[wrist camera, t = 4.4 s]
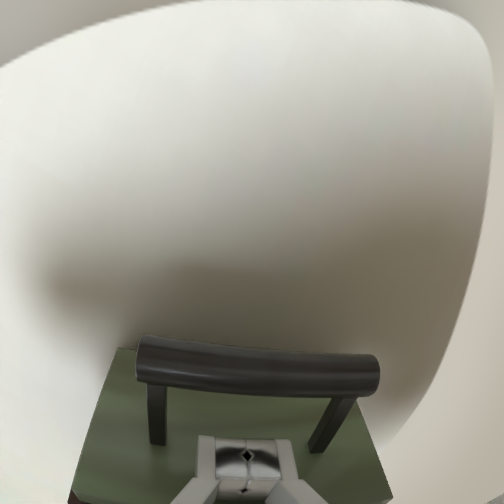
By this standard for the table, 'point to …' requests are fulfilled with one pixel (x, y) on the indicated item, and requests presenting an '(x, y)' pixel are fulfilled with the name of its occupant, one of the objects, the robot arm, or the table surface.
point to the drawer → (228, 419)
